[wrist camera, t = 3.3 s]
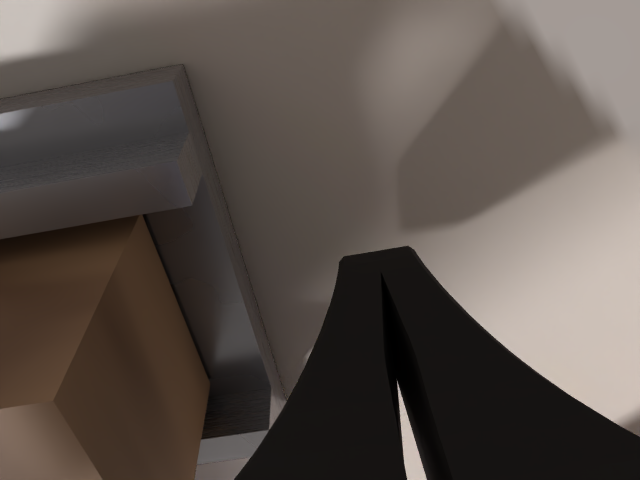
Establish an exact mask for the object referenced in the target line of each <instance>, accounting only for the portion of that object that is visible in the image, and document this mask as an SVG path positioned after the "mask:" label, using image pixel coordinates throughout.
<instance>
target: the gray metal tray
mask: <svg viewBox="0 0 640 480" xmlns="http://www.w3.org/2000/svg"><path fill="white" fill-rule="evenodd" d="M136 215H143V218H144V220H145V223H146V225H147V228H148V230H149V233H150V235H151V238H152V240H153V243H154V245H155V248H156V250H157V253H158V255H159V258H160V260H161V263H162V265H163V268H164V270H165V273H166V275H167V278H168V280H169V283H170V285H171V287H172V290H173V292H174V295H175V297H176V300H177V302H178V305H179V307H180V310H181V312H182V315H183V317H184V320H185V322H186V325H187V327H188V330H189V332H190V335H191V337H192V340H193V342H194V345H195V347H196V350H197V352H198V355H199V357H200V360H201V362H202V365H203V367H204V369H205V372H206V374H207V377H208V379H209V382H210V390H209V396H208V402H207V408H206V413H205V419H204V425H203V431H202V437H201V442H200V448H199V454H198V460H197V465H199V464H206V463H213V462H220V461H227V460H234V459H241V458H248V457H252V455H253V454H254V452H255V451H256V449H257V448H258V446H259V445H260V444H261V442H262V441H263V439H264V437H265V436H266V434H267V433H268V431H269V430H270V428H271V426H272V425H273V423H274V422H275V420H276V419H277V417H278V415H279V414H280V412H281V411H282V409H283V407H284V405H285V404H286V402H287V401H286V398H285V395H284V391H283V388H282V385H281V382H280V378H279V375H278V372H277V369H276V365H275V362H274V359H273V356H272V352H271V349H270V346H269V343H268V339H267V336H266V333H265V329H264V326H263V323H262V320H261V316H260V313H259V310H258V307H257V303H256V300H255V297H254V294H253V290H252V287H251V284H250V281H249V277H248V274H247V271H246V268H245V264H244V261H243V258H242V255H241V251H240V248H239V245H238V241H237V238H236V235H235V232H234V228H233V225H232V222H231V219H230V215H229V212H228V209H227V206H226V202H225V199H224V196H223V193H222V189H221V186H220V183H219V180H218V176H217V173H216V170H215V166H214V163H213V160H212V157H211V153H210V150H209V147H208V144H207V140H206V137H205V134H204V131H203V127H202V124H201V121H200V118H199V114H198V111H197V108H196V105H195V101H194V98H193V95H192V92H191V88H190V85H189V82H188V78H187V75H186V72H185V69H184V65H183V64H180V65H175V66H170V67H165V68H160V69H155V70H149V71H144V72H139V73H134V74H129V75H123V76H118V77H113V78H108V79H103V80H98V81H92V82H87V83H82V84H77V85H72V86H66V87H61V88H56V89H51V90H46V91H41V92H35V93H30V94H25V95H20V96H15V97H9V98H4V99H0V239H5V238H11V237H16V236H22V235H28V234H33V233H39V232H45V231H51V230H56V229H62V228H68V227H73V226H79V225H85V224H90V223H96V222H102V221H108V220H113V219H119V218H125V217H130V216H136Z"/></svg>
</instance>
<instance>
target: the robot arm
mask: <svg viewBox="0 0 640 480" xmlns="http://www.w3.org/2000/svg"><path fill="white" fill-rule="evenodd" d="M397 381H398V384H399V388H400V391H401V395H402V398H403V401H404V405H405V408H406V411H407V415H408V418H409V421H410V425H411V428H412V431H413V435H414V438H415V441H416V445H417V448H418V451H419V454H420V458H421V461H422V464H423V468H424V471H425V474H426V478H427V480H640V437H639V436H637V435H635V434H633V433H631V432H630V431H628V430H626V429H624V428H622V427H620V426H619V425H617V424H616V423H614V422H612V421H611V420H609V419H607V418H606V417H604V416H603V415H601V414H599V413H598V412H596V411H594V410H593V409H591V408H590V407H588V406H586V405H585V404H583V403H581V402H580V401H578V400H577V399H575V398H573V397H572V396H570V395H569V394H567V393H566V392H564V391H563V390H561V389H560V388H559V387H557V386H556V385H554V384H553V383H551V382H550V381H549V380H547V379H546V378H544V377H543V376H541V375H540V374H539V373H537V372H536V371H535V370H533V369H532V368H531V367H530V366H528V365H527V364H526V363H524V362H523V361H522V360H520V359H519V358H518V357H517V356H515V355H514V354H513V353H512V352H510V351H509V350H508V349H507V348H506V347H504V346H503V345H502V344H501V343H500V342H498V341H497V340H496V339H495V338H494V337H493V336H492V335H491V334H490V333H488V332H487V331H486V330H485V329H484V328H483V327H482V326H481V325H480V324H479V323H477V322H476V321H475V320H474V319H473V318H472V317H471V316H470V315H469V314H468V313H467V312H466V311H465V310H464V309H463V308H462V307H461V306H460V305H459V304H458V303H457V301H456V300H455V299H454V298H453V297H452V296H451V295H450V294H449V293H448V292H447V291H446V290H445V289H444V288H443V287H442V285H441V284H440V283H439V282H438V281H437V280H436V278H435V277H434V276H433V275H432V274H431V272H430V271H429V270H428V269H427V267H426V266H425V265H424V263H423V262H422V261H421V259H420V258H419V256H418V255H417V253H416V252H415V250H413V249H412V248H411V247H409V246H404V247H398V248H392V249H386V250H380V251H374V252H368V253H362V254H356V255H350V256H344V257H343V258H342V259H341V261H340V262H339V269H338V275H337V280H336V285H335V289H334V292H333V296H332V299H331V303H330V306H329V308H328V311H327V314H326V317H325V320H324V323H323V326H322V328H321V331H320V334H319V336H318V338H317V341H316V343H315V345H314V347H313V350H312V352H311V354H310V357H309V359H308V361H307V363H306V366H305V368H304V370H303V372H302V374H301V376H300V378H299V380H298V382H297V384H296V386H295V387H294V389H293V391H292V393H291V395H290V397H289V398H288V400H287V402H286V404H285V405H284V407H283V409H282V411H281V412H280V414H279V415H278V417H277V419H276V420H275V422H274V423H273V425H272V426H271V428H270V430H269V431H268V433H267V434H266V436H265V437H264V439H263V441H262V442H261V444H260V445H259V446H258V448H257V449H256V451H255V452H254V454H253V455H252V457H251V458H250V459H249V461H248V462H247V463H246V465H245V466H244V467H243V469H242V470H241V471H240V473H239V474H238V475H237V476H236V478H235V479H234V480H407V476H406V471H405V466H404V457H403V445H402V434H401V422H400V410H399V399H398V387H397Z"/></svg>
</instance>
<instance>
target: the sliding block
mask: <svg viewBox="0 0 640 480" xmlns="http://www.w3.org/2000/svg"><path fill="white" fill-rule="evenodd" d="M209 390H210V382H209V379H208V377H207V374H206V372H205V369H204V367H203V365H202V362H201V360H200V357H199V355H198V352H197V350H196V347H195V345H194V342H193V340H192V337H191V335H190V332H189V330H188V327H187V325H186V322H185V320H184V317H183V315H182V312H181V310H180V307H179V305H178V302H177V300H176V297H175V295H174V292H173V290H172V287H171V285H170V283H169V280H168V278H167V275H166V273H165V270H164V268H163V265H162V263H161V260H160V258H159V255H158V253H157V250H156V248H155V245H154V243H153V240H152V238H151V235H150V233H149V230H148V228H147V225H146V223H145V220H144V218H143V215H136V216H130V217H125V218H119V219H113V220H108V221H102V222H96V223H90V224H85V225H79V226H73V227H68V228H62V229H56V230H51V231H45V232H39V233H33V234H28V235H22V236H16V237H11V238H5V239H0V480H194V477H195V472H196V466H197V460H198V454H199V448H200V442H201V437H202V431H203V425H204V419H205V413H206V408H207V402H208V396H209Z"/></svg>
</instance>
